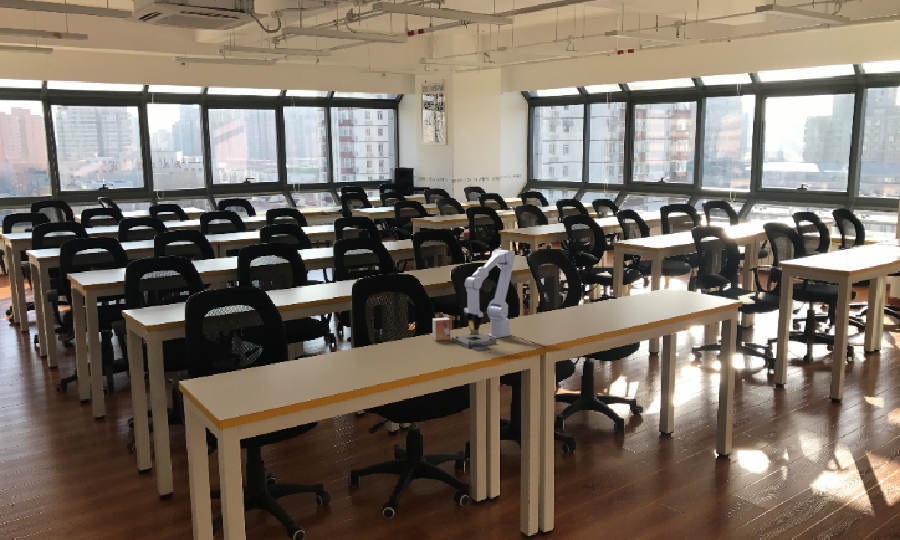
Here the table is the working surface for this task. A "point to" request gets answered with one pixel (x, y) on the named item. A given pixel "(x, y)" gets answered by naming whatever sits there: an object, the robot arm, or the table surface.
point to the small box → (441, 329)
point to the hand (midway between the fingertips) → (473, 328)
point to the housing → (473, 340)
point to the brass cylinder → (472, 328)
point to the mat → (480, 348)
